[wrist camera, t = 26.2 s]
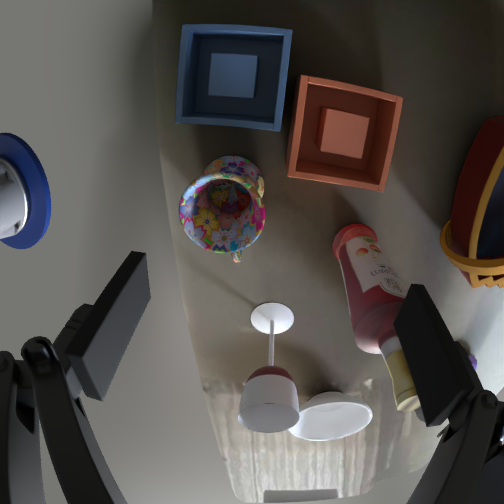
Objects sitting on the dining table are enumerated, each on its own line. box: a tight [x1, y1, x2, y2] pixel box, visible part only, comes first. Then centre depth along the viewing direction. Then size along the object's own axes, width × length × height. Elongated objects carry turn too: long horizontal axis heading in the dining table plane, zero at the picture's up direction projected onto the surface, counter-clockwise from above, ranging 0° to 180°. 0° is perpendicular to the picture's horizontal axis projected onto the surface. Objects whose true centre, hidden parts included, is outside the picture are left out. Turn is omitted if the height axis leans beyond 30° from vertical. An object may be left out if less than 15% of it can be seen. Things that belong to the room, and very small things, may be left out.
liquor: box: [332, 224, 421, 412], centre depth 33 cm, size 7×7×28 cm
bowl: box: [288, 392, 372, 441], centre depth 63 cm, size 20×20×7 cm
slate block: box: [208, 53, 260, 98], centre depth 31 cm, size 5×5×5 cm
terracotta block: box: [315, 106, 370, 159], centre depth 34 cm, size 5×5×5 cm
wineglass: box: [238, 303, 299, 433], centre depth 45 cm, size 8×9×20 cm
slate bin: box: [175, 24, 292, 131], centre depth 31 cm, size 12×12×7 cm
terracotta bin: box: [285, 75, 403, 192], centre depth 34 cm, size 12×12×7 cm
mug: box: [179, 156, 265, 262], centre depth 38 cm, size 12×9×11 cm
